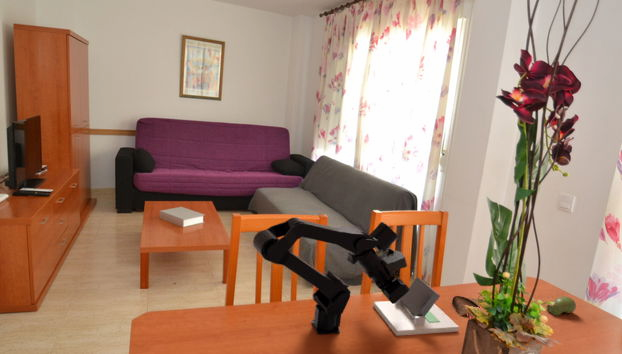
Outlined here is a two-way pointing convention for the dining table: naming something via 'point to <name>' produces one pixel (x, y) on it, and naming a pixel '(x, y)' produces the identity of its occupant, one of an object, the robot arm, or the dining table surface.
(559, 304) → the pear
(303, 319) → the dining table surface
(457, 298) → the sunglasses case
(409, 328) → the pivot board
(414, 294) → the dark grey square panel
